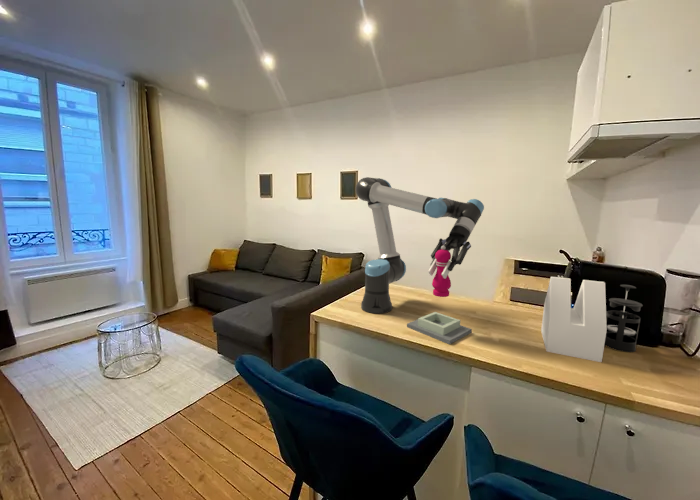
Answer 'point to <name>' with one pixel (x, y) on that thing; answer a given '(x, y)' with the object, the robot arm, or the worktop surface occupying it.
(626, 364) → the worktop surface
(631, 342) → the french press
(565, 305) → the white notched cradle block
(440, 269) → the pepper mill
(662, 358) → the worktop surface
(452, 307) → the worktop surface
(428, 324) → the socket board
